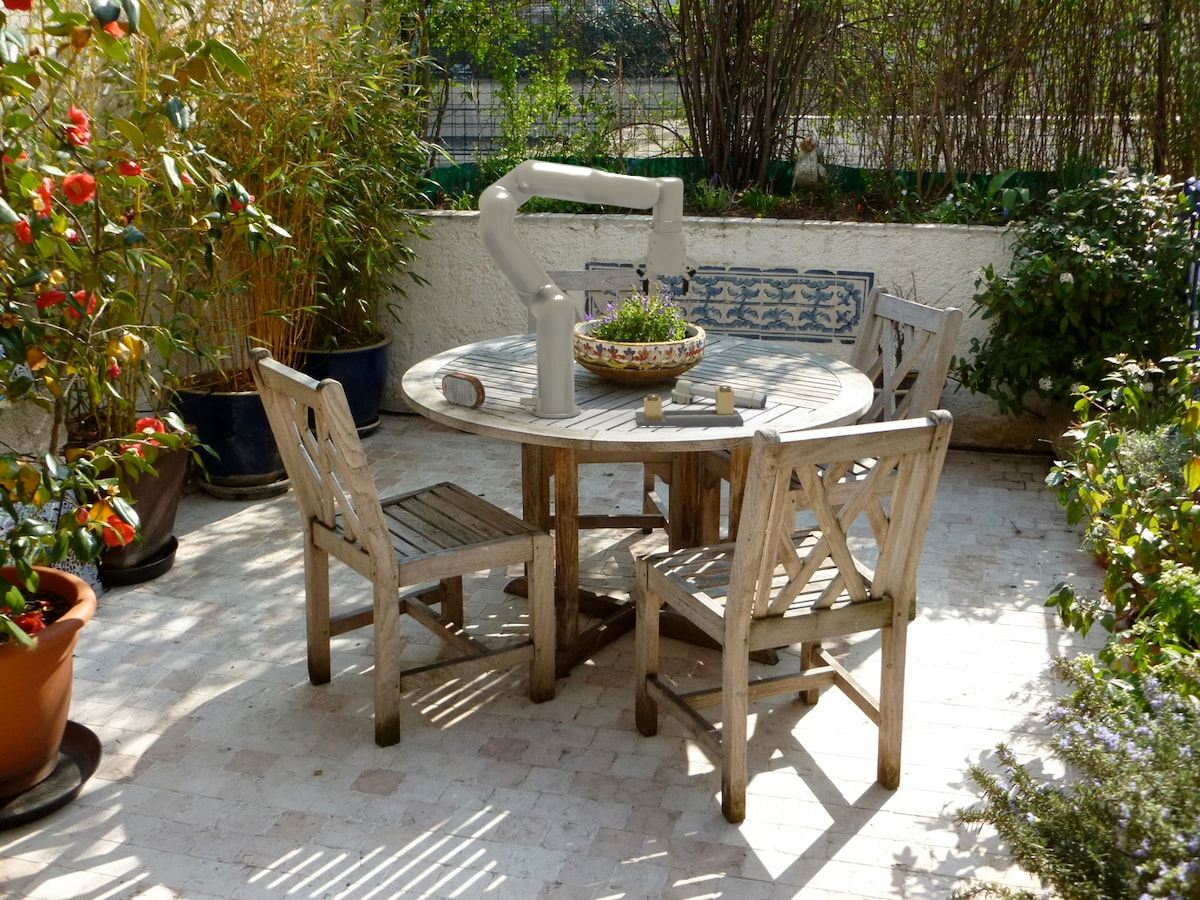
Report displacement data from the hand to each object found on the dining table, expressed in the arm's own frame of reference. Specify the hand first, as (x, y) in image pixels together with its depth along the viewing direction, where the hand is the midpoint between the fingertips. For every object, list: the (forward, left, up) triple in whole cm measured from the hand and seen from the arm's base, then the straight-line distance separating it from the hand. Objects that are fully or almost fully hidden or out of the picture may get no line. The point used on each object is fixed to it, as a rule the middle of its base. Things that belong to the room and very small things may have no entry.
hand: (665, 295), depth 302 cm
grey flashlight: (+14, +1, -30) cm, 33 cm away
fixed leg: (-4, -16, -28) cm, 33 cm away
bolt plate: (+5, -16, -30) cm, 34 cm away
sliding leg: (+14, -16, -28) cm, 35 cm away
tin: (-53, +5, -30) cm, 61 cm away
